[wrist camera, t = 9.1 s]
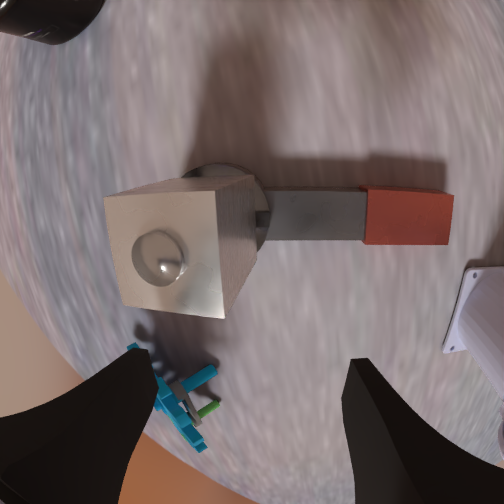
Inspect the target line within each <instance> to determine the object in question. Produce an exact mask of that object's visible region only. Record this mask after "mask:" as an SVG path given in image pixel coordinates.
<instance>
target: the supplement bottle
mask: <svg viewBox="0 0 504 504" xmlns="http://www.w3.org/2000/svg"><path fill="white" fill-rule="evenodd" d="M102 2H103V0H0V32H3V33H7V34H11V35H15V36H19V37H23V38H27V39H31V40H34V41H38V42H41V43H45V44H49V45H58V44H62V43H65V42H67V41H69V40H71V39H73V38H74V37H76V36H77V35H78V34H80V33H81V32H82V31H83V30H84V29H85V28H86V27H87V26H88V25H89V24H90V23H91V21H92V20H93V19H94V17H95V16H96V14H97V13H98V11H99V9H100V7H101V5H102Z"/></svg>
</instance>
